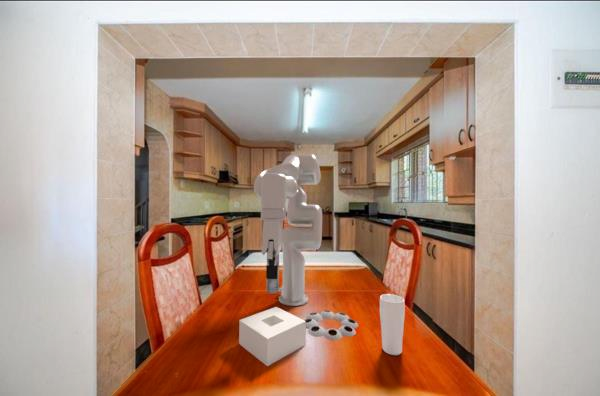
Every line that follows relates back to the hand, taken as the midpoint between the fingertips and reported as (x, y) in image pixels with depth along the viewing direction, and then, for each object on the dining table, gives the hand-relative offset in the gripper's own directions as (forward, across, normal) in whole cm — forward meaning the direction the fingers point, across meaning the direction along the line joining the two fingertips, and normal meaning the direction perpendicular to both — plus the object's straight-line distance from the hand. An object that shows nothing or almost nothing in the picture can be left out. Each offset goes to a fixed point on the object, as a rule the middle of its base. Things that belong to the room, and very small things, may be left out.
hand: (272, 276), depth 74 cm
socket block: (+20, 0, 0) cm, 20 cm away
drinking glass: (+20, +2, +35) cm, 40 cm away
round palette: (+21, -13, +18) cm, 31 cm away
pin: (+4, 0, 0) cm, 4 cm away
